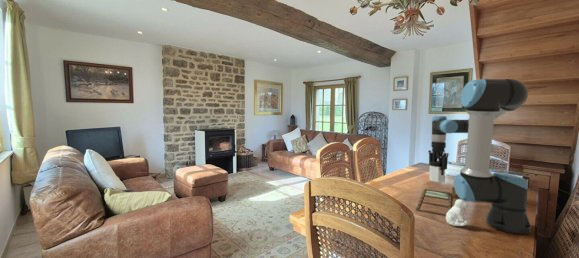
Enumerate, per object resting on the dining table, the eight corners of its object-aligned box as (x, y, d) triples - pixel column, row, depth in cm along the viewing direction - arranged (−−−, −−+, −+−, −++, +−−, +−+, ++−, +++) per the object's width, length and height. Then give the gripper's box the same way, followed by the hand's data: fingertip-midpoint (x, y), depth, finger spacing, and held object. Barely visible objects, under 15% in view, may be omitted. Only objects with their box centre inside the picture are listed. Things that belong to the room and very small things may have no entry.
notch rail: (454, 217, 121) (455, 205, 121) (415, 210, 130) (416, 198, 130) (455, 194, 157) (455, 184, 157) (424, 190, 166) (424, 181, 166)
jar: (447, 181, 155) (447, 161, 154) (442, 183, 149) (442, 163, 149) (432, 178, 161) (432, 160, 161) (426, 180, 156) (426, 161, 156)
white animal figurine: (448, 220, 118) (448, 195, 117) (470, 226, 112) (471, 199, 111) (444, 224, 113) (444, 198, 113) (466, 230, 107) (467, 203, 106)
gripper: (455, 142, 146) (454, 182, 148) (433, 139, 163) (432, 175, 164) (444, 143, 145) (443, 183, 146) (423, 140, 162) (421, 176, 163)
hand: (437, 179), depth 155 cm, fingers closed on jar, 4 cm apart
